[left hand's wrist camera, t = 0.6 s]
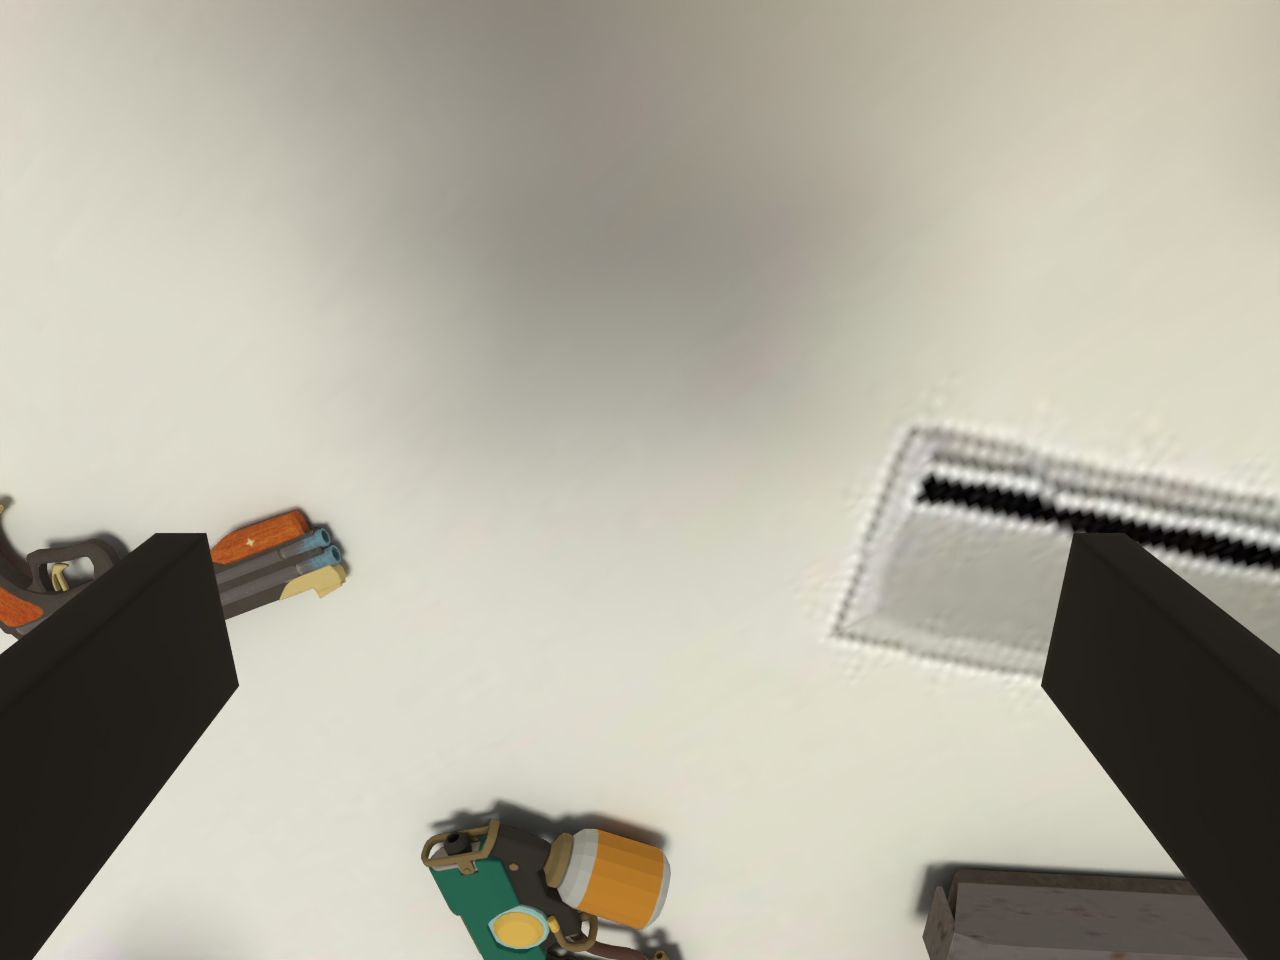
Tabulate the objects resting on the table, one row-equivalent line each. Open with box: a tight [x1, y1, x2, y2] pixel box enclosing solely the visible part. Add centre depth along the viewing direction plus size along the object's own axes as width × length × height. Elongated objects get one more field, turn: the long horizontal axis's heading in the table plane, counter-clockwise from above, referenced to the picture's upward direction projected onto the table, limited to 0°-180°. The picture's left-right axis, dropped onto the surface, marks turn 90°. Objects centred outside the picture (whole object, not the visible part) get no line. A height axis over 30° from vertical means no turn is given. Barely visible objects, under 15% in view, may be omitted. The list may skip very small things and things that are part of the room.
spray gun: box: [421, 819, 671, 960], centre depth 48 cm, size 4×17×15 cm
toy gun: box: [0, 505, 347, 640], centre depth 40 cm, size 3×19×10 cm
